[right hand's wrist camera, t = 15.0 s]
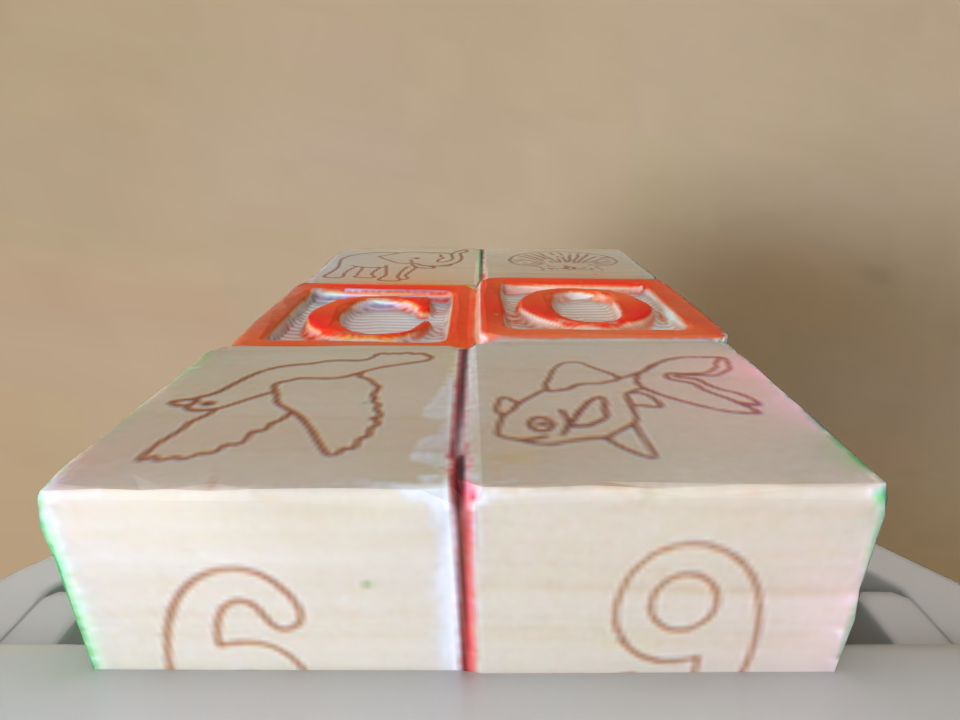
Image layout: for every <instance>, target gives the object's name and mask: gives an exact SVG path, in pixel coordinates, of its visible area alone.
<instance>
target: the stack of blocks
mask: <svg viewBox="0 0 960 720" xmlns="http://www.w3.org/2000/svg"><path fill="white" fill-rule="evenodd" d="M727 341H728V335H727V334H726V333H725V332H724V331H723V330H722V329H721V328H720V327H718V326H717V325H716V324H715V323H714V322H712V321H711V320H710V319H709V318H708V317H706V316H705V315H704V314H703V313H701V312H700V311H699V310H698V309H697V308H695V307H694V306H693V305H692V304H691V303H689V302H688V301H687V300H685V299H684V298H683V297H682V296H680V295H679V294H678V293H676V292H675V291H674V290H673V289H671V288H670V287H669V286H668V285H667V284H665V283H663V282H661V281H659V280H656V278H655V276H653V275H652V274H651V273H649V272H648V271H646V270H645V269H644V268H642V267H641V266H640V265H639V264H638V263H636V262H635V261H633V260H632V259H631V258H629V257H628V256H627V255H626V254H624V253H623V252H622V251H620V250H617V249H487V250H480V249H471V248H377V249H360V250H347V251H344V252H341V253H339V254H338V255H336V256H335V257H334V258H332V259H331V260H330V261H329V262H328V263H327V264H325V265H324V266H323V267H322V268H321V269H320V270H319V271H318V272H317V273H316V274H315V275H314V276H312V278H311V279H310V280H309V281H308V282H307V283H303V284H301V285H298V286H297V287H295V288H294V289H292V291H291V292H290V293H289V294H287V295H286V296H285V297H284V298H282V299H281V300H280V301H279V302H278V303H277V304H276V305H274V306H273V307H272V308H271V309H270V310H269V311H267V312H266V313H265V314H264V315H263V316H261V317H260V318H259V319H258V320H257V321H255V322H254V323H253V324H252V325H251V326H250V327H249V328H248V329H247V330H246V331H245V332H244V333H243V334H242V335H241V336H240V337H239V338H238V339H237V340H236V341H235V342H234V343H233V344H232V346H230V347H225V348H219V349H216V350H214V351H211V352H208V353H205V354H204V355H203V356H202V357H201V358H200V359H199V360H198V361H196V362H195V363H194V364H193V365H192V366H190V367H189V368H188V369H187V370H185V371H184V372H183V373H181V374H180V375H179V376H178V377H177V378H175V379H174V380H173V381H172V382H171V383H169V384H168V385H167V386H165V387H164V388H163V389H162V390H160V391H159V392H158V393H156V394H155V395H154V396H152V397H151V398H150V399H149V400H147V401H146V402H145V403H143V404H142V405H141V406H140V407H138V408H137V409H136V410H135V411H134V412H132V413H131V414H130V415H129V416H127V417H126V418H125V419H124V420H123V421H121V422H120V423H119V424H118V425H116V426H115V427H114V428H112V429H111V430H110V431H109V432H107V433H106V434H105V435H104V436H102V437H101V438H100V439H99V440H97V441H96V442H95V443H93V444H92V445H91V446H90V447H88V448H87V449H86V450H85V451H83V452H82V453H81V454H80V455H78V456H77V457H76V458H74V459H73V460H72V461H71V462H69V463H68V464H67V465H66V466H64V467H63V468H62V469H61V470H60V471H59V472H58V473H57V474H56V475H55V476H54V477H53V478H52V479H51V480H50V481H49V482H48V483H47V485H46V486H45V487H44V488H43V489H42V490H41V491H40V492H39V496H38V500H37V501H38V509H39V517H40V526H41V530H42V532H43V534H44V537H45V539H46V541H47V543H48V545H49V548H50V550H51V552H52V554H53V556H54V559H55V562H56V565H57V567H58V570H59V573H60V576H61V579H62V582H63V585H64V587H65V590H66V593H67V596H68V599H69V602H70V605H71V607H72V610H73V613H74V616H75V619H76V621H77V624H78V627H79V630H80V632H81V635H82V638H83V641H84V643H85V646H86V649H87V652H88V654H89V657H90V660H91V663H92V666H93V668H94V669H112V670H462V671H470V672H476V673H482V674H489V673H667V672H835V670H836V667H837V664H838V661H839V658H840V656H841V653H842V651H843V648H844V646H845V643H846V641H847V638H848V636H849V633H850V631H851V628H852V626H853V623H854V621H855V615H856V608H857V602H858V596H859V589H860V586H861V584H862V582H863V579H864V577H865V575H866V572H867V569H868V566H869V562H870V559H871V556H872V553H873V549H874V546H875V543H876V540H877V537H878V534H879V531H880V528H881V525H882V522H883V519H884V516H885V511H886V503H887V488H886V483H885V482H884V481H883V480H882V479H881V478H880V477H878V476H877V475H876V474H875V473H874V472H873V471H872V470H870V469H869V468H868V467H867V466H866V465H865V464H864V463H862V462H861V461H860V460H859V459H858V458H857V457H856V456H855V455H854V454H852V453H851V452H850V451H849V450H848V449H847V448H846V447H845V446H844V445H842V444H841V443H840V442H839V441H838V440H837V439H836V438H835V437H834V436H833V435H832V434H831V433H829V432H828V431H827V430H826V429H825V428H824V427H823V426H822V425H821V424H820V423H818V422H817V421H816V420H815V419H814V418H813V417H812V416H810V415H809V414H808V413H807V412H806V411H805V410H804V409H802V408H801V407H800V406H799V405H798V404H797V403H795V402H794V401H793V400H792V399H791V398H790V397H788V396H787V395H786V394H785V393H784V392H783V391H781V390H780V389H779V388H778V387H777V386H775V385H774V384H773V383H772V382H771V381H770V380H769V379H768V378H767V377H766V376H765V375H763V374H762V373H761V372H760V371H759V370H758V369H757V368H756V367H755V366H754V365H753V364H751V363H750V362H749V361H748V360H747V359H745V358H744V357H742V356H741V355H739V354H738V353H736V351H735V350H734V349H733V348H732V347H731V346H729V345H727Z"/></svg>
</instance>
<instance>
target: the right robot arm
mask: <svg viewBox="0 0 960 720" xmlns="http://www.w3.org/2000/svg"><path fill="white" fill-rule="evenodd" d="M0 720H960V584H959V583H957V582H955V581H953V580H951V579H949V578H947V577H945V576H942V575H940V574H938V573H936V572H934V571H932V570H930V569H928V568H926V567H924V566H921V565H919V564H917V563H915V562H913V561H911V560H909V559H907V558H905V557H902V556H900V555H898V554H896V553H894V552H892V551H890V550H888V549H886V548H884V547H881V546H879V545H877V544H875V546H874V549H873V553H872V556H871V559H870V562H869V566H868V569H867V572H866V575H865V577H864V579H863V582H862V584H861V586H860V589H859V596H858V602H857V608H856V615H855V621H854V623H853V626H852V628H851V631H850V633H849V636H848V638H847V641H846V643H845V646H844V648H843V651H842V653H841V656H840V658H839V661H838V664H837V667H836V670H835V672H667V673H489V674H482V673H476V672H470V671H462V670H112V669H94V668H93V666H92V663H91V660H90V657H89V654H88V652H87V649H86V646H85V643H84V641H83V638H82V635H81V632H80V630H79V627H78V624H77V621H76V619H75V616H74V613H73V610H72V607H71V605H70V602H69V599H68V596H67V593H66V590H65V587H64V585H63V582H62V579H61V576H60V573H59V570H58V567H57V565H56V562H55V559H54V556H53V555H52V556H50V557H47V558H45V559H43V560H41V561H39V562H37V563H35V564H33V565H30V566H28V567H26V568H24V569H22V570H20V571H18V572H16V573H13V574H11V575H9V576H7V577H5V578H3V579H1V580H0Z"/></svg>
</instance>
